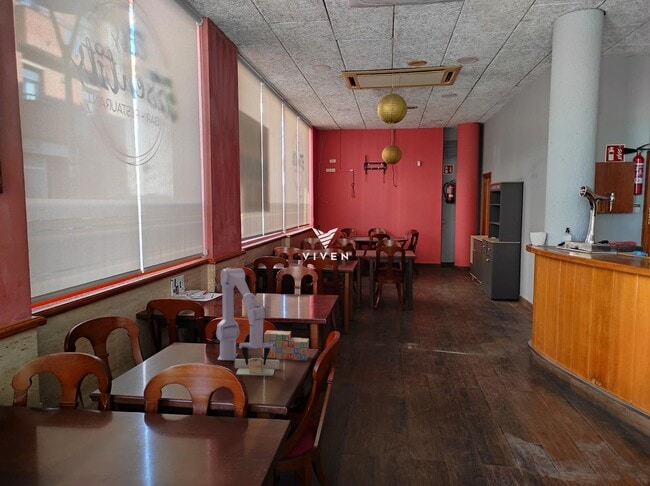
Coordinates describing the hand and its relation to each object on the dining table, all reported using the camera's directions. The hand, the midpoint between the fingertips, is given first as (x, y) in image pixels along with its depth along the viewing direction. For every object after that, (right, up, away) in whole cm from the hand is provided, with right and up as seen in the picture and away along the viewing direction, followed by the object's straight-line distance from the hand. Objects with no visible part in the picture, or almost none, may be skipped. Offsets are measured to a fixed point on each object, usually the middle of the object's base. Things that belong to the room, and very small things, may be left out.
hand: (255, 364), depth 195 cm
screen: (0, -3, +5) cm, 6 cm away
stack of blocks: (+11, -3, +22) cm, 25 cm away
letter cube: (0, -3, 0) cm, 3 cm away
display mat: (0, -4, 0) cm, 4 cm away
